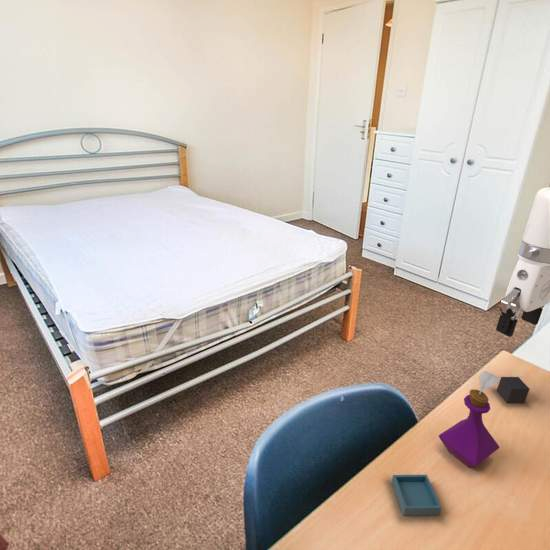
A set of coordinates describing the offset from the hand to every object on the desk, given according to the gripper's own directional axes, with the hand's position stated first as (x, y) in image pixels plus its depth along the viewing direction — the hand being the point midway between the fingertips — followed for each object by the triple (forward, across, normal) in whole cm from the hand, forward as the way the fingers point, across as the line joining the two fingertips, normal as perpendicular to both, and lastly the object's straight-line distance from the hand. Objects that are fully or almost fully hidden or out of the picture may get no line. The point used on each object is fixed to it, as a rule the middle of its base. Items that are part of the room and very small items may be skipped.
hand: (516, 327), depth 81 cm
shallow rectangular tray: (+16, -38, -9) cm, 43 cm away
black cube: (+16, 0, -3) cm, 17 cm away
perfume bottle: (+16, -23, -8) cm, 30 cm away
